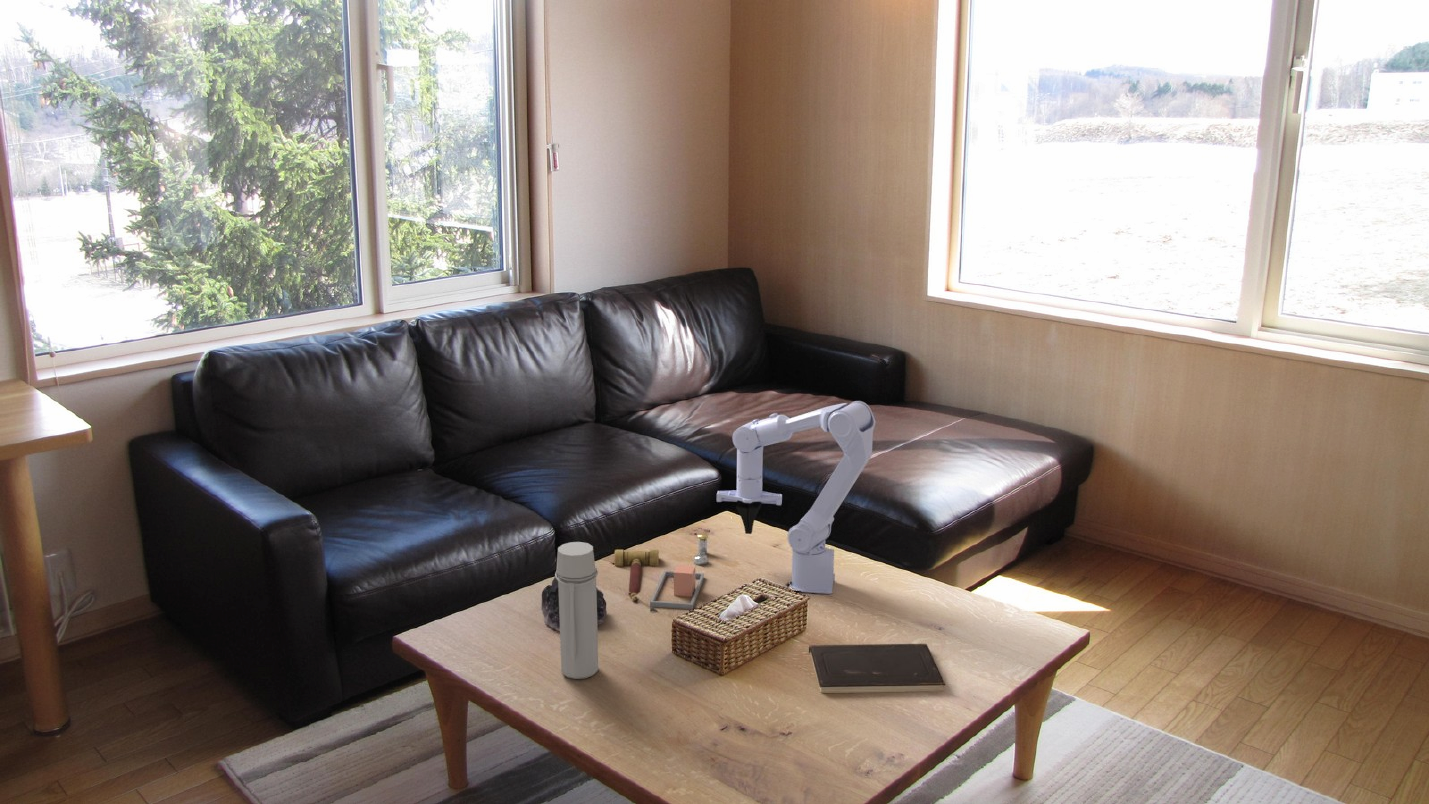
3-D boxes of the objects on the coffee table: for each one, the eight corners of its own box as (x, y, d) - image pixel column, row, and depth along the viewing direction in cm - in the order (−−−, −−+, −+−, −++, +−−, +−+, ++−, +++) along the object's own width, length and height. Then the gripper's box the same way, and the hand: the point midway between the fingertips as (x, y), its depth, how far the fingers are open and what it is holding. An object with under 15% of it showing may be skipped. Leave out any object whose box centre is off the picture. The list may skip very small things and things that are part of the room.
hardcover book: (944, 694, 205) (945, 683, 205) (819, 696, 204) (819, 685, 204) (925, 652, 221) (925, 642, 220) (808, 654, 220) (809, 643, 219)
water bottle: (564, 661, 216) (560, 539, 209) (604, 663, 215) (601, 541, 208) (552, 685, 207) (547, 559, 200) (594, 687, 206) (590, 561, 199)
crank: (706, 565, 257) (706, 546, 255) (693, 565, 257) (693, 546, 256) (709, 551, 264) (709, 533, 263) (696, 550, 265) (696, 532, 263)
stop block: (695, 591, 245) (695, 566, 243) (692, 599, 241) (692, 573, 239) (677, 590, 245) (677, 565, 244) (673, 598, 242) (673, 572, 240)
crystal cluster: (609, 635, 228) (612, 588, 226) (541, 635, 225) (544, 588, 223) (603, 611, 241) (606, 567, 239) (539, 611, 238) (542, 566, 236)
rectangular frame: (704, 582, 250) (704, 573, 250) (692, 614, 235) (692, 604, 235) (664, 580, 252) (664, 570, 251) (650, 611, 236) (650, 601, 236)
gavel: (657, 590, 240) (610, 590, 240) (657, 609, 241) (610, 609, 241) (658, 546, 260) (615, 546, 259) (658, 563, 261) (615, 564, 261)
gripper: (714, 479, 248) (714, 537, 252) (780, 483, 246) (779, 540, 250) (719, 469, 255) (719, 525, 258) (783, 472, 253) (781, 529, 256)
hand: (748, 532), depth 254 cm, fingers closed
